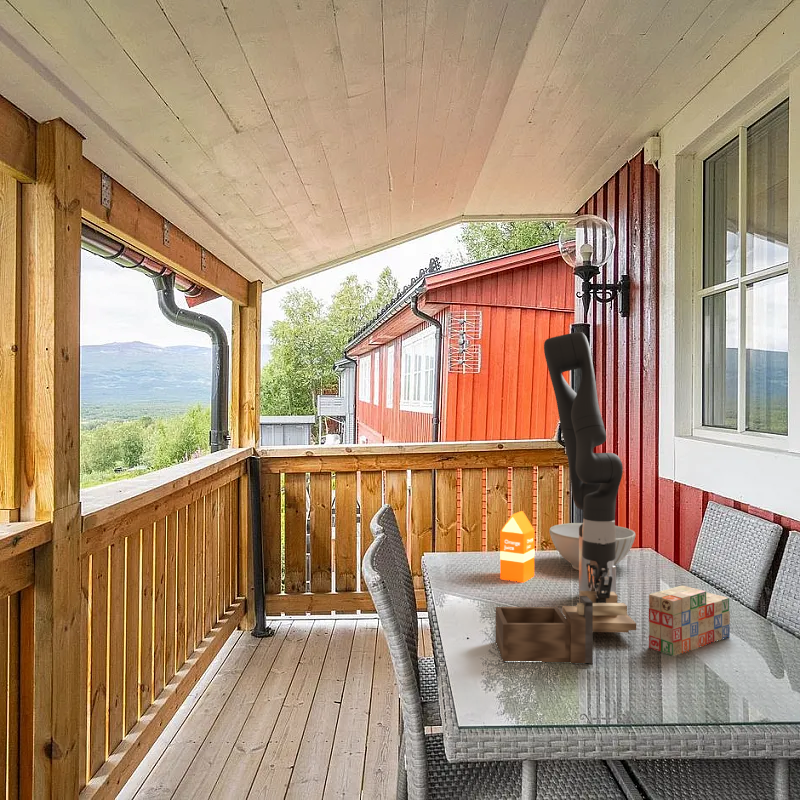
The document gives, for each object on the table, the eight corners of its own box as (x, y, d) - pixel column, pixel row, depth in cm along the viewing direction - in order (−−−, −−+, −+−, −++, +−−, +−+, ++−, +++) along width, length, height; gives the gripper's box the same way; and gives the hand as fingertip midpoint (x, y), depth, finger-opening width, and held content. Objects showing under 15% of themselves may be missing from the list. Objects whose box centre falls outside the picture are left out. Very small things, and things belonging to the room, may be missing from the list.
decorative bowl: (647, 579, 210) (647, 539, 210) (559, 578, 210) (559, 539, 210) (620, 558, 237) (620, 522, 237) (542, 557, 237) (542, 522, 237)
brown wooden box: (577, 642, 157) (577, 585, 157) (592, 664, 144) (592, 602, 144) (495, 642, 157) (495, 585, 157) (503, 664, 144) (503, 602, 144)
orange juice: (534, 576, 213) (534, 511, 213) (523, 582, 206) (523, 515, 206) (511, 572, 218) (511, 509, 217) (499, 579, 210) (499, 513, 210)
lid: (619, 617, 168) (620, 586, 168) (636, 634, 156) (636, 601, 156) (562, 616, 168) (562, 585, 168) (573, 633, 156) (574, 599, 156)
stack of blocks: (705, 630, 165) (705, 578, 165) (730, 637, 160) (730, 584, 160) (648, 648, 153) (648, 593, 153) (673, 657, 148) (673, 600, 148)
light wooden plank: (624, 612, 147) (624, 602, 147) (627, 615, 145) (627, 605, 145) (577, 612, 147) (577, 602, 147) (579, 615, 145) (579, 605, 145)
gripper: (575, 532, 169) (575, 602, 169) (590, 544, 155) (590, 621, 155) (606, 532, 169) (606, 603, 169) (624, 544, 155) (624, 621, 155)
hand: (598, 611), depth 162 cm, fingers closed on lid, 3 cm apart
